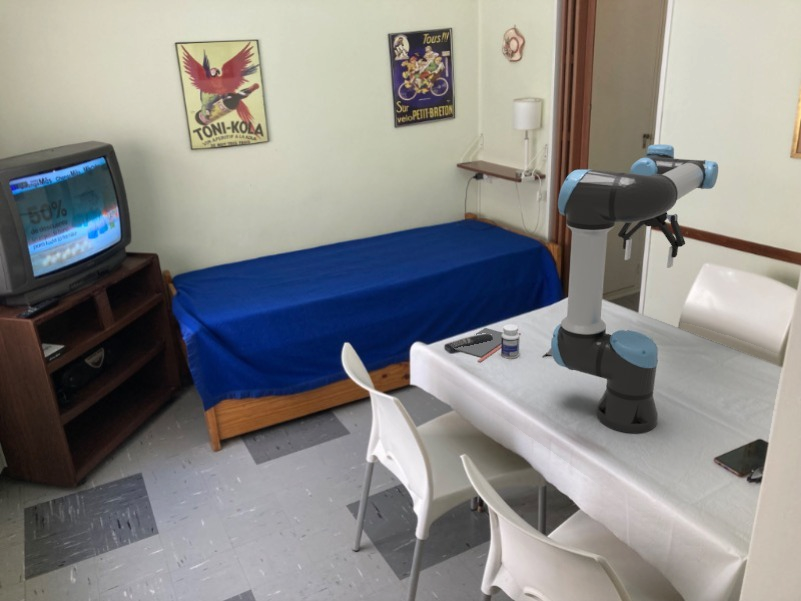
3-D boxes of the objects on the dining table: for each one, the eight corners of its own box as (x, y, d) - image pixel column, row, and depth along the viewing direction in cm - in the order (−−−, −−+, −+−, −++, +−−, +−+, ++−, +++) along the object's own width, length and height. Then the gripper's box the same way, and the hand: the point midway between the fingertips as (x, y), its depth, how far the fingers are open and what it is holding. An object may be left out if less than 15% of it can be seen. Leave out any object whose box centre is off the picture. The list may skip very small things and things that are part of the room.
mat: (481, 357, 208) (481, 356, 208) (453, 349, 214) (453, 348, 214) (512, 336, 222) (512, 335, 222) (485, 329, 229) (485, 327, 228)
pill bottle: (505, 350, 213) (505, 322, 209) (521, 353, 210) (522, 325, 206) (498, 357, 208) (498, 328, 204) (515, 360, 205) (515, 332, 202)
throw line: (480, 362, 205) (480, 361, 205) (477, 361, 205) (477, 360, 205) (520, 334, 223) (520, 333, 223) (518, 333, 224) (518, 332, 224)
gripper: (702, 199, 192) (692, 266, 200) (621, 189, 207) (615, 253, 215) (693, 204, 187) (684, 273, 194) (611, 194, 202) (605, 258, 210)
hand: (648, 262), depth 205 cm, fingers open, 13 cm apart
